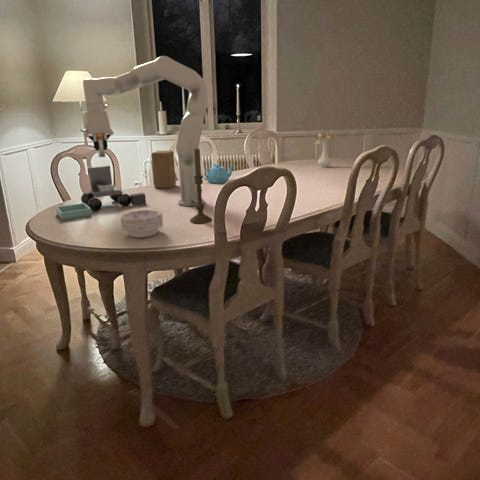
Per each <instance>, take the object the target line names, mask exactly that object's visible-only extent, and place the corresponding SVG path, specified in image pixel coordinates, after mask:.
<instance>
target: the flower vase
mask: <svg viewBox="0 0 480 480" xmlns="http://www.w3.org/2000/svg"><path fill="white" fill-rule="evenodd" d="M334 132H335V131H334V130H332V129H330V133H329V131H328V130H325V131H324V129H321V130H320V132H319V133H318V135H317V134H316V133H314V136H312V137H311V139H312V140H314V142H313V144H314V145H316V144H318V145H320V140H322V153H321V156H320V157H319V159H318V160H317V164H318V165H319V168H323V169H325V168H330V165H331V164H332V160H331V158H330V157H329V155H328V143H329V141H330V142H332V141H333V142H334V143H335V142H336V140H337V137H338V135H337V134H335V133H334Z"/></svg>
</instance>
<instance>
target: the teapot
mask: <svg viewBox="0 0 480 480" xmlns="http://www.w3.org/2000/svg"><path fill="white" fill-rule="evenodd" d="M234 166H235V164H232V165H230V166H229V170H228V171H227V170H226V168H225V167H224V166H220V164H216V163H215V162H213V166H212V167H211V168H206V169H204V175H205V176H203V179H204V181H208V182H209V184H224V183H225V184H226V183H228V181H229V179H230V177H231V176H232V173H233V167H234Z"/></svg>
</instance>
